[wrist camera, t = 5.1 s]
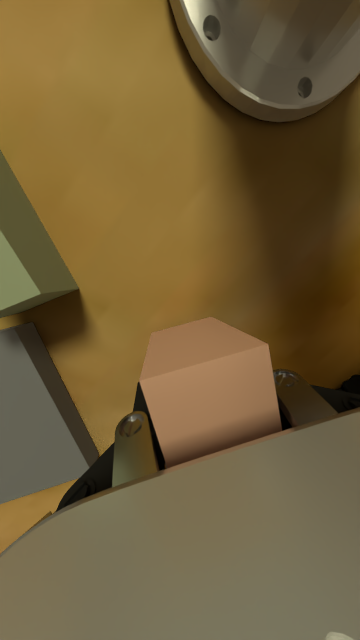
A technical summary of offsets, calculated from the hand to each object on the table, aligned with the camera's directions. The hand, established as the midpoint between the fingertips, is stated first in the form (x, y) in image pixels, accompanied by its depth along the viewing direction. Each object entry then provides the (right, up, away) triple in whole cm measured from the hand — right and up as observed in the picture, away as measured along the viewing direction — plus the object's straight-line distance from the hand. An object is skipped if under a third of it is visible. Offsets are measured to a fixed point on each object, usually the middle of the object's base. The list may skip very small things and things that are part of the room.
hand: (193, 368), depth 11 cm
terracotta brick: (0, -1, +1) cm, 1 cm away
